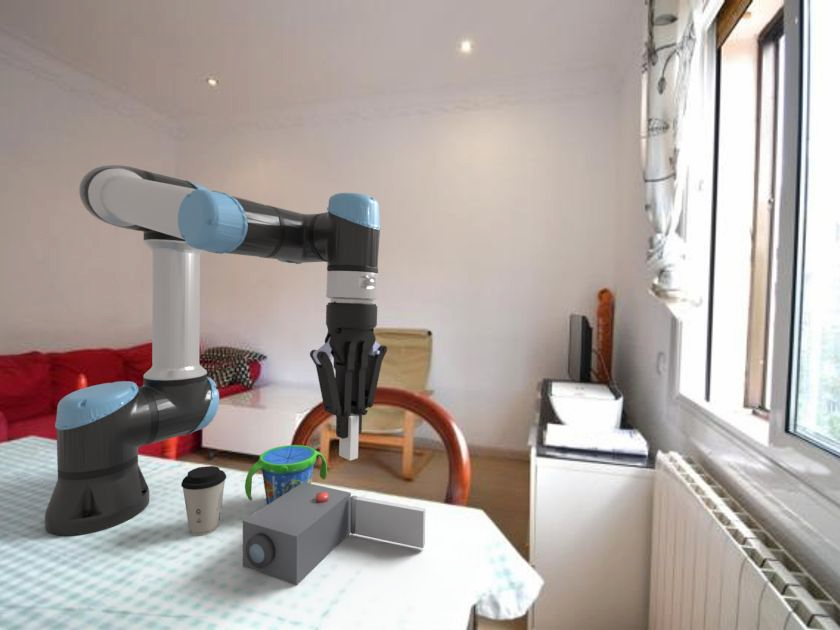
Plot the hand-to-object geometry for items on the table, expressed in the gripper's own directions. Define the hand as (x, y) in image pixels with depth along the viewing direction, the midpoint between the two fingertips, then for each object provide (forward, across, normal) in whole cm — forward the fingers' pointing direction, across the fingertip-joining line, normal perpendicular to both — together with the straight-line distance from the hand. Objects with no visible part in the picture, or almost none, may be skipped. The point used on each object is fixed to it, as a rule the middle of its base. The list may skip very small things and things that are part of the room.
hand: (348, 456), depth 61 cm
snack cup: (+17, +3, +22) cm, 28 cm away
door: (+16, +8, -1) cm, 18 cm away
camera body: (+17, -3, +8) cm, 19 cm away
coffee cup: (+17, -11, +25) cm, 32 cm away
